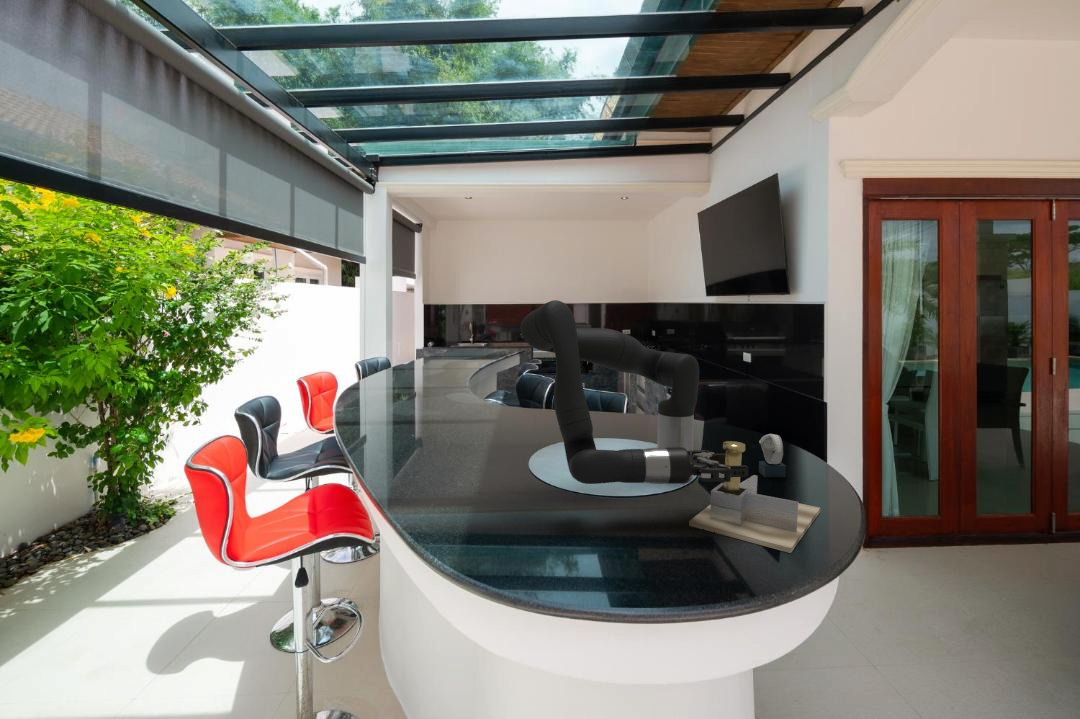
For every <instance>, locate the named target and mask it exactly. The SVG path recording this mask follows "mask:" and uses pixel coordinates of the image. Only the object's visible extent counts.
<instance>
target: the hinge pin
mask: <svg viewBox="0 0 1080 719" xmlns="http://www.w3.org/2000/svg"><path fill="white" fill-rule="evenodd" d="M722 449H723V450H724V451H725V454H726V457H725V464H724V465H729V466H742V457H743V454H742V453H744V452H746V443H743V442H739V441H735V440H734V441H732V440H730V441H729V440H726V441H723V442H722ZM723 483H724V491H723V492H725V493H729V494H734V495H738V496H739V491H740V483H741V477H731V481H730V482H723Z"/></svg>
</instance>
